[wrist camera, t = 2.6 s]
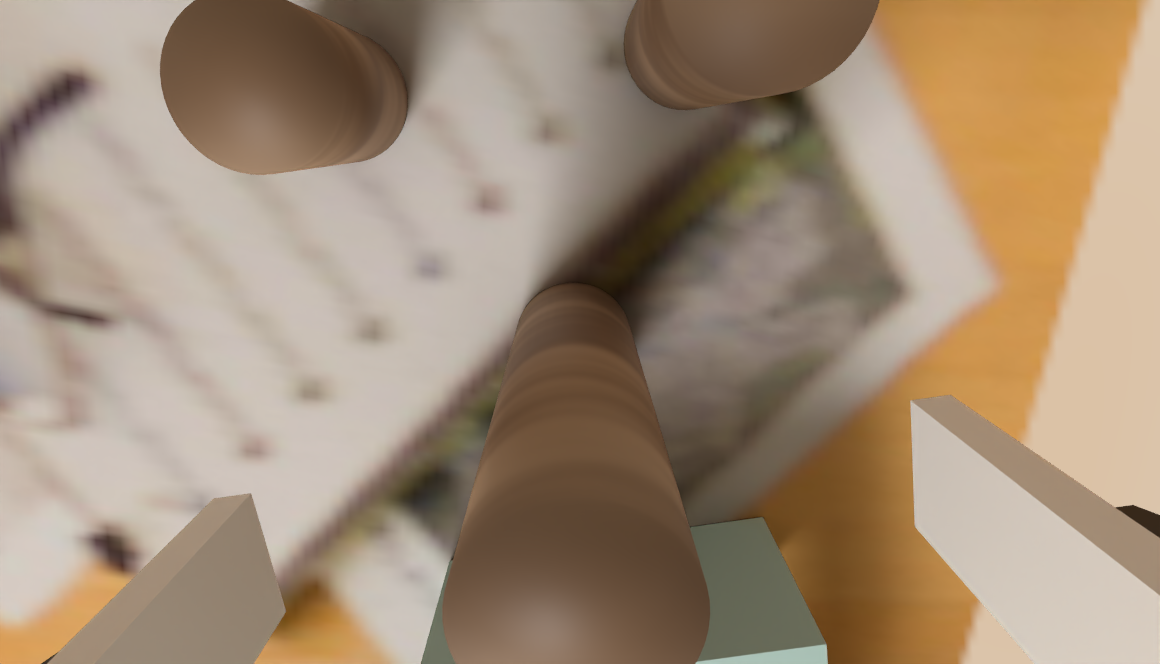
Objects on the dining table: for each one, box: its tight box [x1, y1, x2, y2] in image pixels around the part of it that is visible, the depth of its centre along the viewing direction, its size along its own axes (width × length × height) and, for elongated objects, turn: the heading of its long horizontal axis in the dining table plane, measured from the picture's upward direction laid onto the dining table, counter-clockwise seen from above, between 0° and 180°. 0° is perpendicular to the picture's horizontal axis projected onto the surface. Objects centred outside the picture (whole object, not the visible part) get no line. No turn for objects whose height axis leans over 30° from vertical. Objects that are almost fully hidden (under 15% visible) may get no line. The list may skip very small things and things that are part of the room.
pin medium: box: [624, 0, 879, 110], centre depth 18 cm, size 4×4×10 cm
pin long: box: [442, 283, 710, 664], centre depth 18 cm, size 4×4×15 cm
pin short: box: [160, 0, 408, 175], centre depth 20 cm, size 4×4×7 cm
